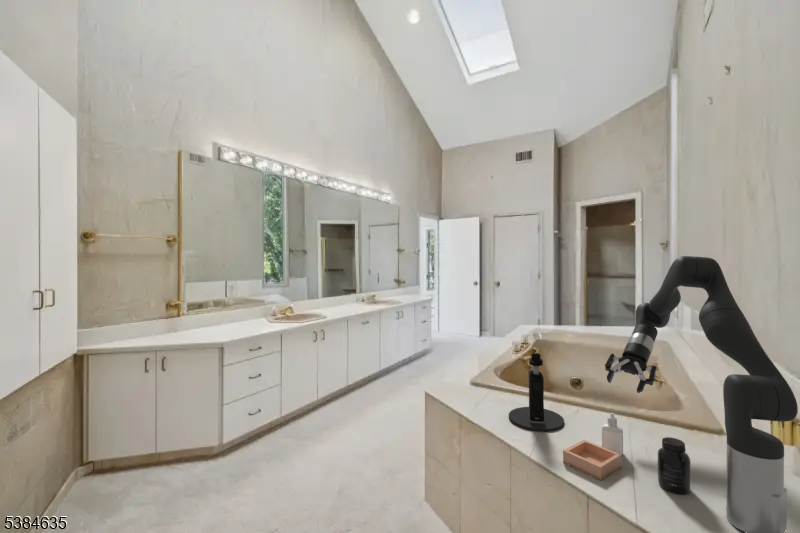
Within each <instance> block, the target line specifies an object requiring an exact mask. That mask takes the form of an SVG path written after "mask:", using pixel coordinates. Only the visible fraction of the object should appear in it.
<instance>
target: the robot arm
mask: <svg viewBox="0 0 800 533" xmlns="http://www.w3.org/2000/svg"><path fill="white" fill-rule="evenodd" d="M679 287H685V288H687V287H688V288H697V289H703V290H704V291H706V293H707V296H708V297H707V299H706V300H705V302H704V304H703V305H702V307H701V309H700V311H699V314H698V321H699V324H700V327H701V328H702V330H703V333H704V335H705V337H706V339H707V340H708V342H709V343H710V344H711V345H712V346H714V347H715V348H716V349H717V350H719V351H720V352H722V353H723V354H724V355H726V356H727V357H729V358H730V359H732V360H733V361H734V362H736V363H737V364H739V365H740V366H741V367H742V368H743V369H744V370H745V371H746V372H747V374H739V373H738V374H737V373H735V374H728V375H727V376H726V377H725V380H724V382H723V386H722V387H723V389H722V395H723V408H724V427H725V433H726V435H725V436H726V498H725V499H726V507H725V510H726V511H725V512H726V519H727V521H728V522H729V523H730V524H731V525H732V526H733V525H734V526H735V527H734V526H733V527H734V528H736V529H737V528H738V529H737V530H739V529H740V530H739V531H741V530H742V531H744V532H747V533H784V532H785V530H786V529H788V527H787V525H788V524H787V520H788V518H787V517H788V509H787V508H788V507H787V506H788V490H787V488H786V487H785V445H784V443H783V442H782V440H781V439H780V438H778V437H776V436H774V435H773V434H771V433H769V432H766V431H763V430H762V429H759V428H757V427H754V426H753V424H752V420H759V421H770V422H790V421H793V420H794V419H796V418H797V415H798V413H799V412H798V411H799V410H798V407H799V406H798V402H797V399H796V396H795V394H794V391H793V390H792V388H791V386H790V385H789V383H788V381H787V380H786V378H785V377H784V376H783V374H782V373H781V372H780V371H779V369H778V367H777V366H776V365H775V363H774V362H773V361H772V359H771V358H770V357H769V356H768V354H767V352H766V351H765V350H764V349H763V346H762V345H761V343H760V341H759V340H758V338H757V336H756V335H755V332H754V331H753V328H752V326H751V325H750V323H749V321H748V320H747V318H746V316H745V314H744V313H743V311H742V310H741V309H740V307H739V305H738V303H737V301H736V300H735V298H734V296H733V294H732V292H731V290H730V287H729V286H728V283H727V280H726V278H725V275H724V272H723V270H722V268H721V266H720V263H719V262H717V260H715V259H714V258H711V257H705V256H690V255H682V256H679V257H677V258H675V259H674V260H673V262H672V264H671V265H670V266H669V269H668V271H667V273H666V275H665V278H664V279H663V281H662V284H661V286H660V288H659V290H658V291H657V292H656V294H654V296H652V298H651V300H650V301H649V302H642V303H640V304H638V306H636V309H635V316H634V319H635V323H634V328H633V331H632V333H631V335H630V337H629V338H628V340H627V342H626V345H625V347H624V350H623V352H622V354H621V356H619V357H618V356H616V355H615V354H614V353H611V354H609V357H608V359H607V361H606V363H605V364H604V369H605V371H606V372H608V373H607V374H606V381H607V383H609V384H611V383H612V381H613V378H614V376H615V374H617V373H621V372H623V371H624V373H627V374H630V375H633V376H635V375H636V376H637V378H638V380H639V382H638V385H637V388H636V393H637V394H640V393H642V392H644V388H645V386H646V385H648V386H653V385H654V381H655V378H656V374H657V367H656V366H655V365H653V366H648V362H649V359H650V356H651V355H652V352H653V349H654V344H655V341H656V339H657V336H658V332H659V331H658V329H662V328H665V327H666V326H667V325H668V324H669V322H670V318H671V313H672V312H673V311H674V310H675V309H676V308H677V307H678V306H679V305H680V302H681V299H682V298H681V297H682V296H681V293H680V290H679ZM616 362H618V363H616ZM615 363H616V364H615ZM613 364H615V365H613ZM646 371H647V372H648V373H649V376H648V378H646V376H645V374H644V372H646ZM742 531H741V532H742ZM744 532H743V533H744Z"/></svg>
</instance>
